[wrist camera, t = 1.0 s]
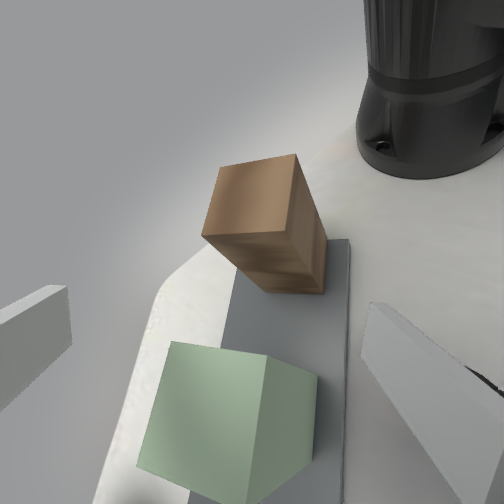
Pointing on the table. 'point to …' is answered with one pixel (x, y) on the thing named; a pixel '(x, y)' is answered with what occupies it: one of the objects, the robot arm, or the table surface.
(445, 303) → the table surface
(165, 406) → the pale green block
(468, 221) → the table surface
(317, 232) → the brown wooden block
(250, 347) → the grey flat board
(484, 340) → the table surface
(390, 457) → the table surface
